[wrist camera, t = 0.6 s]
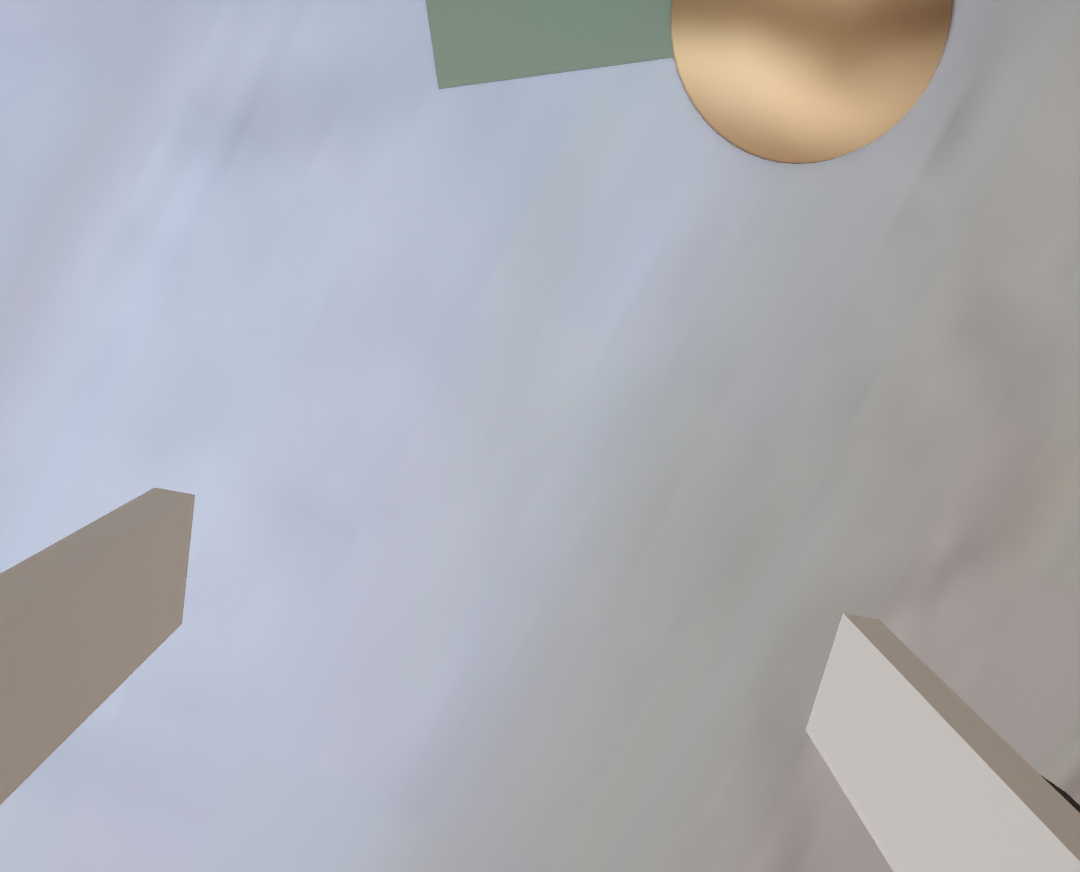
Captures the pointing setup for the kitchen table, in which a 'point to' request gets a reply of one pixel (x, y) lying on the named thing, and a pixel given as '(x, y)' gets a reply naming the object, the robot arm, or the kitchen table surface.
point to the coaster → (806, 69)
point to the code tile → (543, 36)
